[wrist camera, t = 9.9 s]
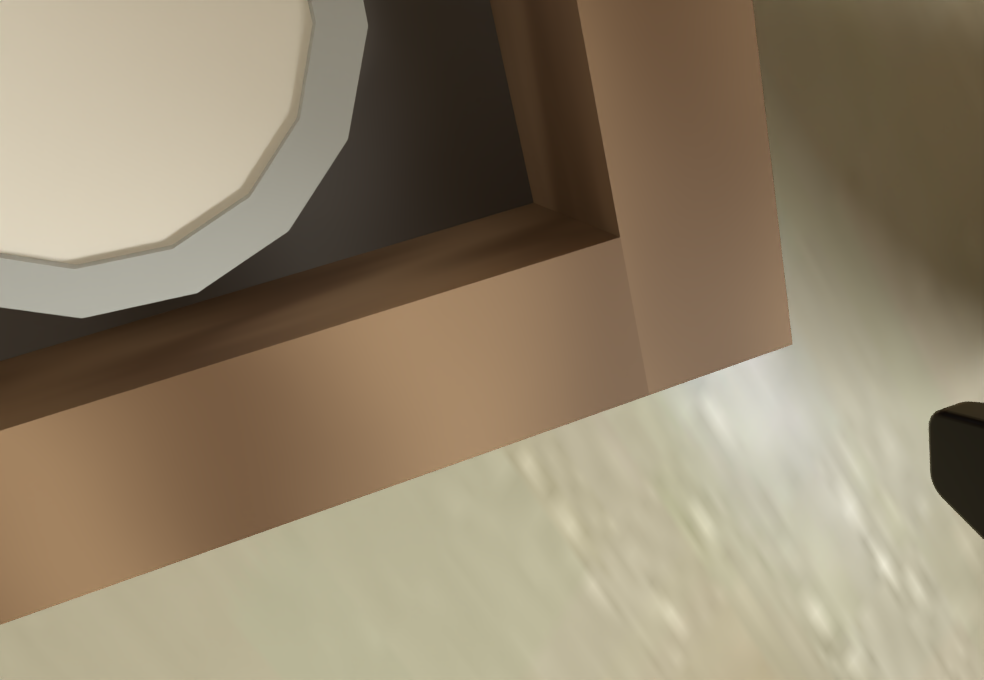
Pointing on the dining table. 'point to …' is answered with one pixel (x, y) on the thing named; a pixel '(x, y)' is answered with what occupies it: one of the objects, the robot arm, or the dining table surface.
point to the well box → (415, 290)
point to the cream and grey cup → (161, 140)
